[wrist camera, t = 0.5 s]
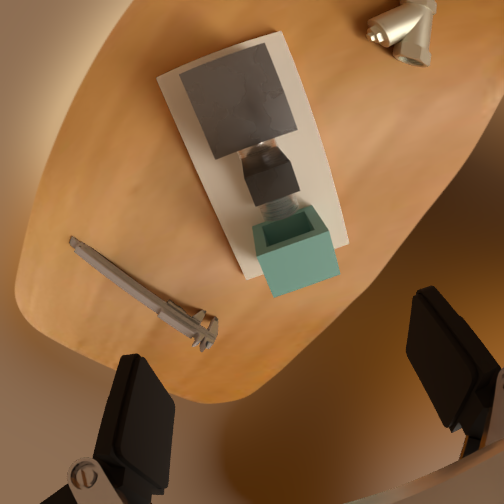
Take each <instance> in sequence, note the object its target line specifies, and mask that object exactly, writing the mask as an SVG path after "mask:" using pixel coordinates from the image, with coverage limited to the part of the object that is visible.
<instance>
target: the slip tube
mask: <svg viewBox="0 0 504 504" xmlns="http://www.w3.org/2000/svg"><path fill="white" fill-rule="evenodd" d="M237 154H238V156H239V159H240V161H241V164H242V167H243V174H244V179H245V182H246V184H247V187H248V189H249V192H250V194H251V197H252V199H253V202H254V204H255V207H257V206H259V209H260V212H261V214H262V217H263V219H264V220H265V221H278V220H282V219H285V218H287V217H289V216H291V215H293V214H294V213H296V212H297V211H298V209H299V204H298V201H297V198H296V195H295V193H296V192H299V191H300V188H299V185H298V182H297V179H296V176H295V173H294V170H293V167H292V164H291V161H290V160H289V159H288V158H287V157H286V156H285V154H284V153H283V152H282V151H281V150H280V149H279V146H278V143H277V141H276V138H273V139H270V140H267V141H264V142H261V143H259V144H256V145H253V146H250V147H248V148H245V149H242V150H240V151H237Z"/></svg>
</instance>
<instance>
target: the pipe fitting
mask: <svg viewBox="0 0 504 504" xmlns="http://www.w3.org/2000/svg"><path fill="white" fill-rule="evenodd" d="M400 5H401V6H398V7H396V8H394V9H391V10H389V11H387V12H384V13H382V14H380V15H378V16H376V17H373V18H371V19H369V20H368V22H367V24H368V28H369V29H367V33H368V34H366V37H367V39H368V40H369V41H370V42H372V41H373V42H375V43H376V44H377V43H379V44H380V45H382V46H384V47H389V46H391V45H393V44H394V49H393V56H394V57H395V58H396V59H397V60H399V61H401V62H403V63H406V64H409V65H412V66H416V67H428V66H430V60H431V54H430V52H429V45H430V37H431V29H432V19H433V15H434V14H436V7H437V3H436V2H435V1H434V0H400Z"/></svg>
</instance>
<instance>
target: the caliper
mask: <svg viewBox="0 0 504 504" xmlns="http://www.w3.org/2000/svg"><path fill="white" fill-rule="evenodd" d="M69 243H70V245H71V246H72V247H73V248H74V249H75V251H74V252H75V253H76V254H78V255H79V256H80V257H81V258H82V259H84V260H85V261H86V262H88V263H89V264H90V265H91V266H93V267H94V268H95V269H96V270H98V271H99V272H100V273H102V274H103V275H104V276H106V277H107V278H108V279H110V280H111V281H112V282H114V283H115V284H116V285H118V286H119V287H120V288H122V289H123V290H124V291H126V292H127V293H129V294H130V295H131V296H133V297H134V298H136V299H137V300H138V301H140V302H141V303H143V304H144V305H146V306H147V307H148V308H150V309H151V310H153V311H154V312H156V313H157V314H158V317H159V318H160V319H162V320H163V321H165V322H166V323H168V324H169V325H171V326H172V327H174V328H175V329H177V330H178V331H180V332H181V333H183V334H184V335H186V336H187V337H189V338H192V337H194V338H195V341H194V343H193V344H192V347H194V346H196V345H198V344H199V343H200V342H201V343H200V351H201V353H202V352H203V351H204V350H205V349H206V348H207V349H209V348H210V347H211V346H212V345H213V343H214V341H215V339H216V337H217V335H218V319H217V317H214V318H213V319H212V321H211V322H210V325H209V327H208V328H207V329H206V328H204V327H203V326H201V325H200V323H201V322H202V320H203V318H204V316H205V313H206V311H204V310H201V311H200V312H198V313H197V314H195V315H194V316H192V317H191V316H189V315H188V314H186V312H185V311H184V310H183V309H182V308H181V307H180V306H177V305H176V304H174V303H173V302H172V301H171V300H168V301H167V302H165V301H164V300H162V299H161V298H159V297H158V296H156V295H155V294H153V293H152V292H151V291H149V290H148V289H146V288H145V287H144V286H142V285H141V284H139V283H138V282H136V281H135V280H134V279H132V278H131V277H130V276H128V275H127V274H125V273H124V272H123V271H121V270H120V269H119V268H117V267H116V266H115V265H113V264H112V263H111V262H109V261H108V260H107V259H106V258H104V257H103V256H102V255H100V254H99V253H98V252H97V251H95V250H94V249H93V248H91V247H90V246H88V245H86V244H85V243H83V242H80V241H78V240H77V239H76V238H75V237H73V236H72V237H71V240H70V242H69Z"/></svg>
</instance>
